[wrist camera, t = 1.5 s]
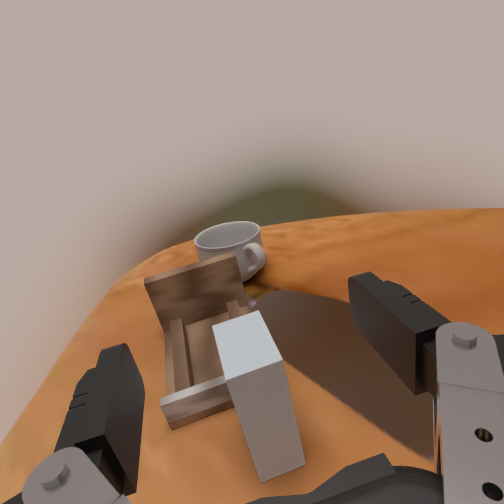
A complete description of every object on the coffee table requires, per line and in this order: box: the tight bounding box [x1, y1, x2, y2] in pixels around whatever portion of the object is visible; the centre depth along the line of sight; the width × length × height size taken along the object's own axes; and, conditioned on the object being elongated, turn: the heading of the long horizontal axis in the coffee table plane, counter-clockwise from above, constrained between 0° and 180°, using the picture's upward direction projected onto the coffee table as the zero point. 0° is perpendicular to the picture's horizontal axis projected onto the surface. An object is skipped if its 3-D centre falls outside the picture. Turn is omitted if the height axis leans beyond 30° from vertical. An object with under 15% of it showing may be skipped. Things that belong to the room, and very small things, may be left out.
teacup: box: [194, 221, 266, 282], centre depth 55 cm, size 14×11×8 cm
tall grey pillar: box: [212, 311, 306, 483], centre depth 28 cm, size 4×6×12 cm, turn 15°
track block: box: [144, 251, 252, 429], centre depth 39 cm, size 12×16×9 cm
